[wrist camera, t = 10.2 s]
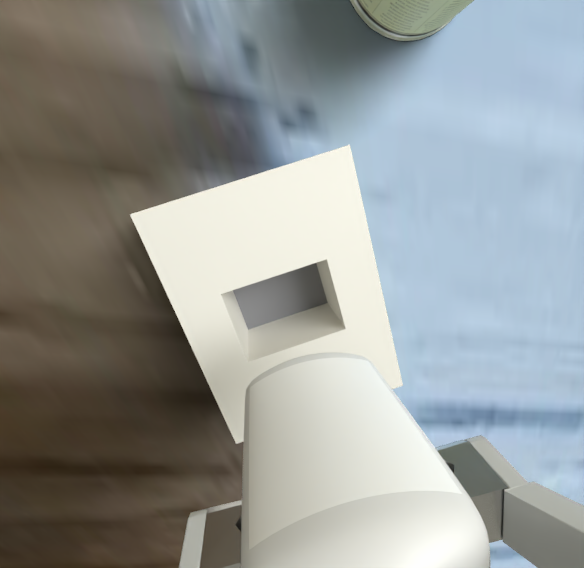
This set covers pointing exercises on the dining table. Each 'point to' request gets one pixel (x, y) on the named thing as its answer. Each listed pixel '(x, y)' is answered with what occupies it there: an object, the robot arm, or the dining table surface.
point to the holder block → (272, 274)
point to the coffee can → (408, 16)
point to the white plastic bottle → (347, 476)
